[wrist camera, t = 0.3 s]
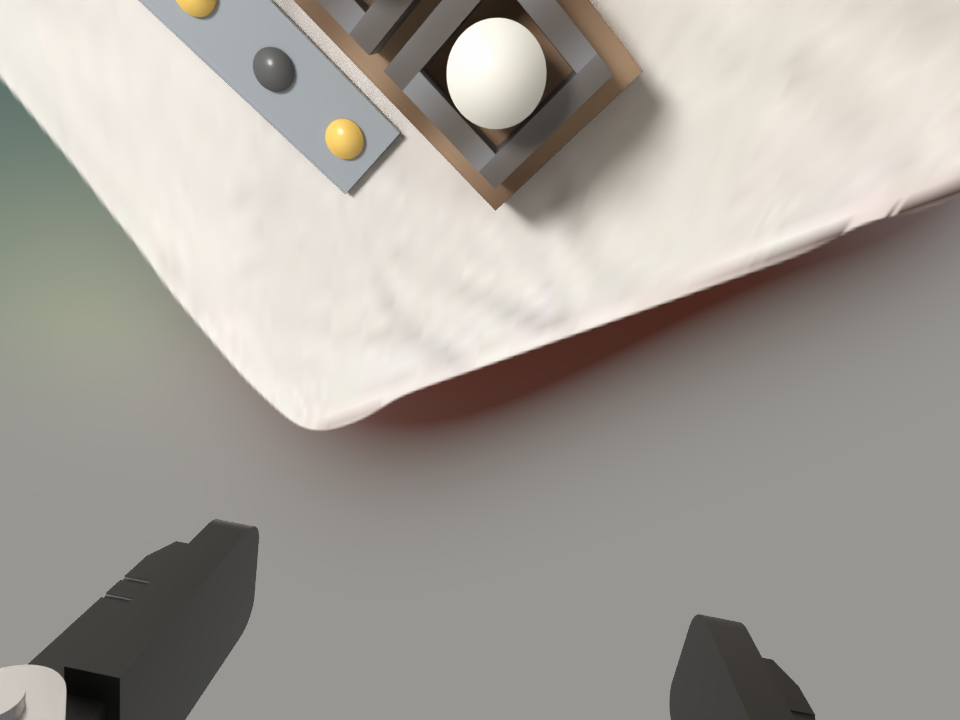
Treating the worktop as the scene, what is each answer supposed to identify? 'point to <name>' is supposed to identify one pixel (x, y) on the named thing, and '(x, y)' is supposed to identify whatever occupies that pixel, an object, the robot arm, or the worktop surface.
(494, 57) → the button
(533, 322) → the worktop surface
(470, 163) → the button board
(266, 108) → the pattern card
